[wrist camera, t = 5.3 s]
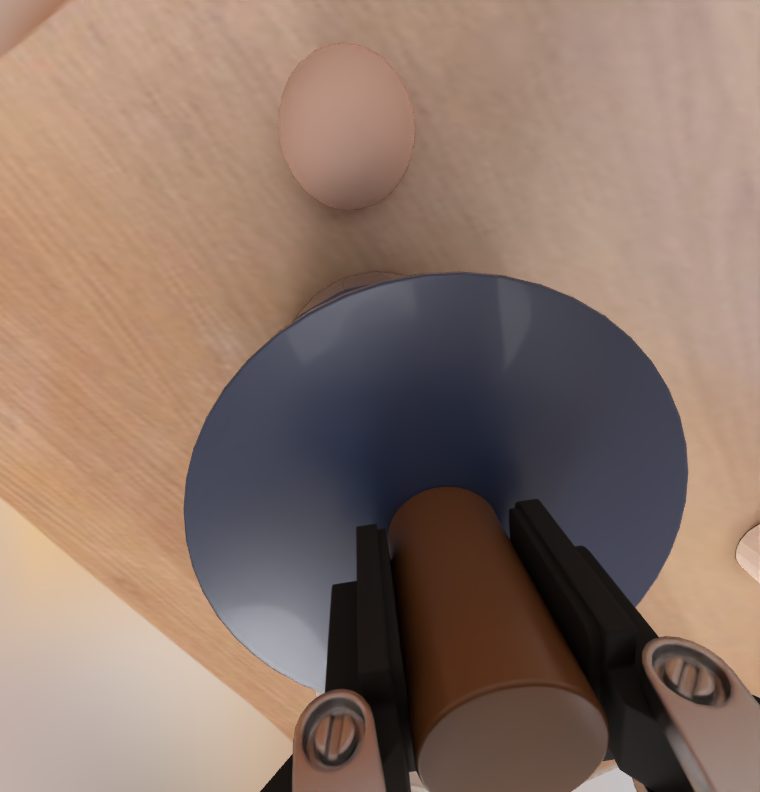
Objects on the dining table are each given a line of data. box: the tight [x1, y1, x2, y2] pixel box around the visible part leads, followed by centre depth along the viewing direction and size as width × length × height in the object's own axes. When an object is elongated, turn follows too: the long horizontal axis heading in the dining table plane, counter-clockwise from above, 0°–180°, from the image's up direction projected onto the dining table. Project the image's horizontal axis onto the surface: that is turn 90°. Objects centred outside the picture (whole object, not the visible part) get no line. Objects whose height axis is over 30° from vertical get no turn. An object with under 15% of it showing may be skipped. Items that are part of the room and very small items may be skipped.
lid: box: [184, 271, 688, 792], centre depth 10 cm, size 14×14×7 cm
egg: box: [278, 43, 415, 210], centre depth 21 cm, size 7×7×10 cm
